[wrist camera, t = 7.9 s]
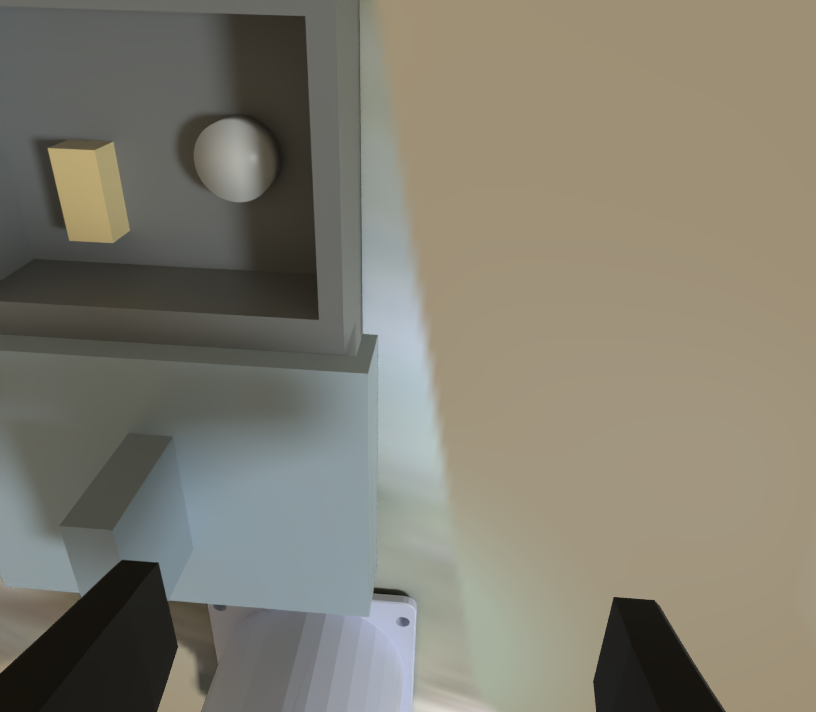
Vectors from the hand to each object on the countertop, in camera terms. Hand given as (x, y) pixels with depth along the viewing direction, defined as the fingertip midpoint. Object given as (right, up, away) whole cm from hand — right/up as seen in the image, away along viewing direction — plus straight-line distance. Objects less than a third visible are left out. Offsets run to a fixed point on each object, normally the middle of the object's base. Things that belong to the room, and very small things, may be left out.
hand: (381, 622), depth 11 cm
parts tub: (-6, +6, +9) cm, 12 cm away
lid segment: (-6, +2, +9) cm, 11 cm away
